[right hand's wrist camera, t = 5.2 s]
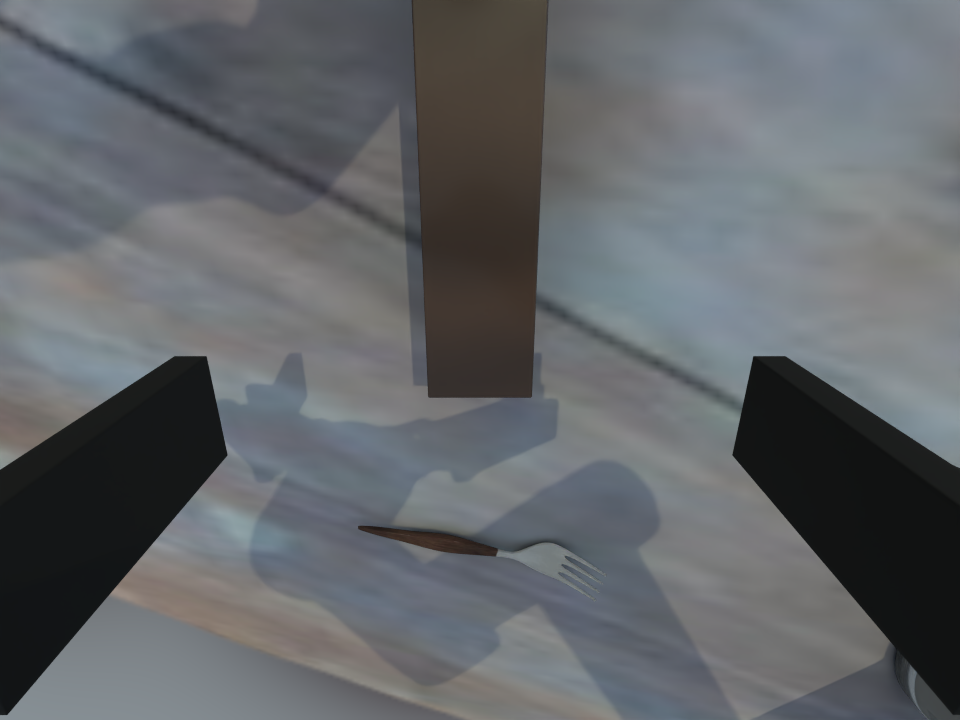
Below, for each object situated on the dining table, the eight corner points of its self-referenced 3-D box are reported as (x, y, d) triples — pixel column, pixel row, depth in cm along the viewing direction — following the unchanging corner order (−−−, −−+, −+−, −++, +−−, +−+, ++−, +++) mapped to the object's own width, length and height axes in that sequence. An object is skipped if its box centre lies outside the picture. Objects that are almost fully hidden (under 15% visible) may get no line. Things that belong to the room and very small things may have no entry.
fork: (362, 505, 32) (355, 526, 31) (601, 551, 34) (608, 573, 32) (357, 537, 33) (349, 559, 31) (589, 580, 35) (595, 604, 33)
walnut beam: (520, 343, 29) (531, 398, 22) (439, 343, 29) (428, 398, 22) (545, -479, 17) (584, -855, 11) (414, -478, 18) (376, -855, 11)
